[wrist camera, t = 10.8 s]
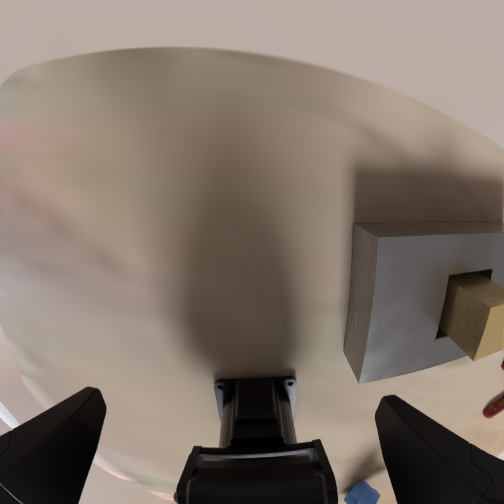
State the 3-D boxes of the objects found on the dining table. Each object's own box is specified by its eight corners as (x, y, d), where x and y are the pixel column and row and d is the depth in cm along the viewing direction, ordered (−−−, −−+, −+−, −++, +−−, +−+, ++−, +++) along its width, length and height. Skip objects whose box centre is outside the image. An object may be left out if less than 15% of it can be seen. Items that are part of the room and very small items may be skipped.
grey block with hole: (483, 321, 21) (507, 340, 17) (343, 351, 21) (358, 384, 17) (502, 222, 18) (532, 232, 14) (353, 223, 18) (378, 237, 14)
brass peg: (448, 301, 20) (506, 347, 12) (416, 306, 20) (473, 361, 12) (455, 260, 19) (522, 298, 11) (423, 264, 19) (490, 307, 11)
